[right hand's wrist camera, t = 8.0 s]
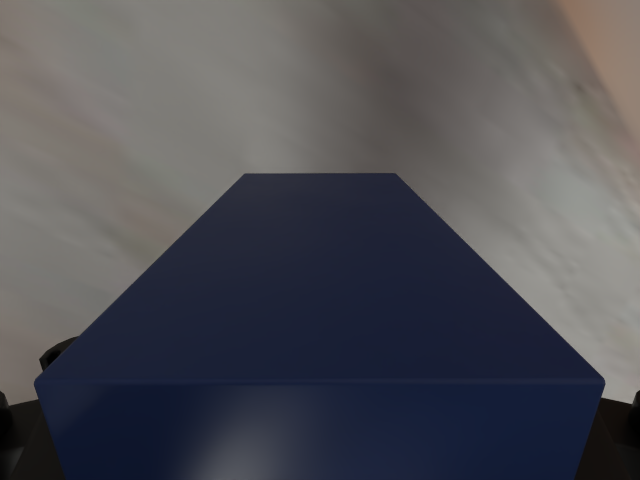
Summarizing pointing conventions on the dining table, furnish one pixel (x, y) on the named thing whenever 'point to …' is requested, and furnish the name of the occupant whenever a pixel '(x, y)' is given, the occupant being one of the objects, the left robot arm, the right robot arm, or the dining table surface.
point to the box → (319, 352)
